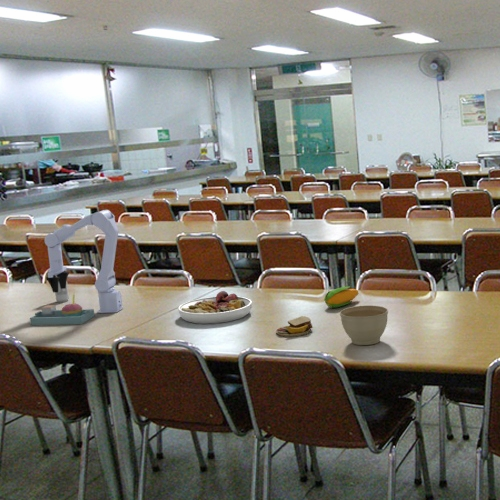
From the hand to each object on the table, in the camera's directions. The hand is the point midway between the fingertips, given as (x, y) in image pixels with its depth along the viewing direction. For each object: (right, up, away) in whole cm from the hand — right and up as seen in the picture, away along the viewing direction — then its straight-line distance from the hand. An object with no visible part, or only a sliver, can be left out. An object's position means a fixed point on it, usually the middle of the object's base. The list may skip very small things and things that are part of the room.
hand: (59, 290), depth 345 cm
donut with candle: (+9, -12, -15) cm, 22 cm away
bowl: (+70, -9, -27) cm, 76 cm away
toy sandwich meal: (+100, -13, -60) cm, 118 cm away
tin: (-1, -12, -13) cm, 18 cm away
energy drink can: (-5, -7, +25) cm, 26 cm away
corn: (+122, -5, -25) cm, 125 cm away
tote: (+5, -12, -14) cm, 19 cm away
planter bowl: (+124, -14, -80) cm, 148 cm away
